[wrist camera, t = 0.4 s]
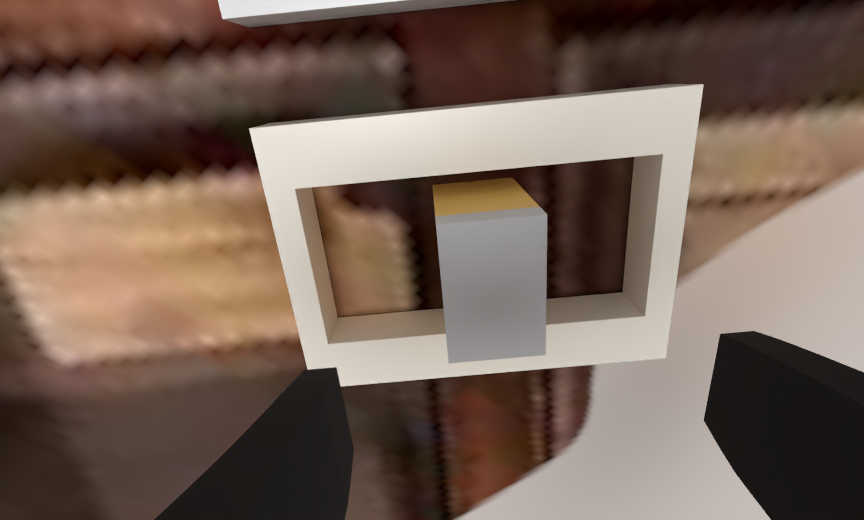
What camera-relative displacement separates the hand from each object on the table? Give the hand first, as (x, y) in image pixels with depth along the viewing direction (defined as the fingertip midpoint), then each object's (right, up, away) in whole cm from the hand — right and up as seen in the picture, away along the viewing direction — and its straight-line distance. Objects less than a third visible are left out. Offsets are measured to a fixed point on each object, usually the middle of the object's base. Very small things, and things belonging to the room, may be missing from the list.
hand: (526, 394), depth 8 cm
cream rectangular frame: (0, +3, +9) cm, 9 cm away
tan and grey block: (0, +3, +9) cm, 10 cm away
